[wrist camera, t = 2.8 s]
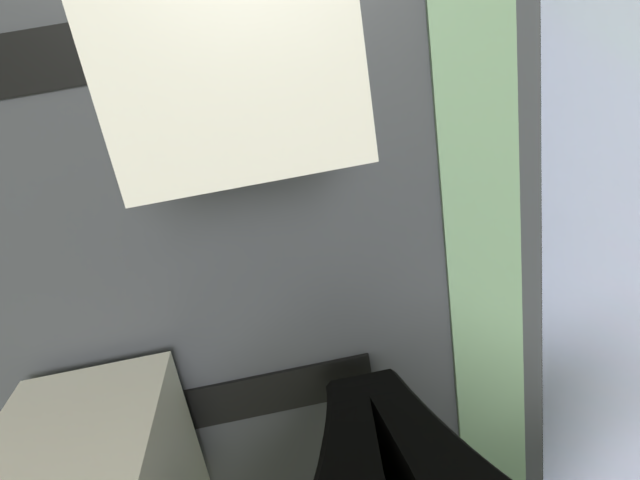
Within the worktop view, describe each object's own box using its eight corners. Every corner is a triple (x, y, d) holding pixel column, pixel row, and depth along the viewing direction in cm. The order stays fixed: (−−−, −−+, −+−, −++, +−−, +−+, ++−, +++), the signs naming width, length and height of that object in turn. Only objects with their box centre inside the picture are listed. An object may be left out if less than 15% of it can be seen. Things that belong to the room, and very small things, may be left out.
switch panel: (514, 582, 18) (545, 647, 16) (-60, 713, 17) (-99, 799, 15) (486, -221, 10) (542, -280, 8) (-600, -57, 9) (-829, -81, 7)
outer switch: (336, 117, 10) (379, 161, 6) (168, 147, 10) (126, 208, 6) (303, -110, 8) (335, -198, 5) (108, -79, 8) (15, -149, 5)
